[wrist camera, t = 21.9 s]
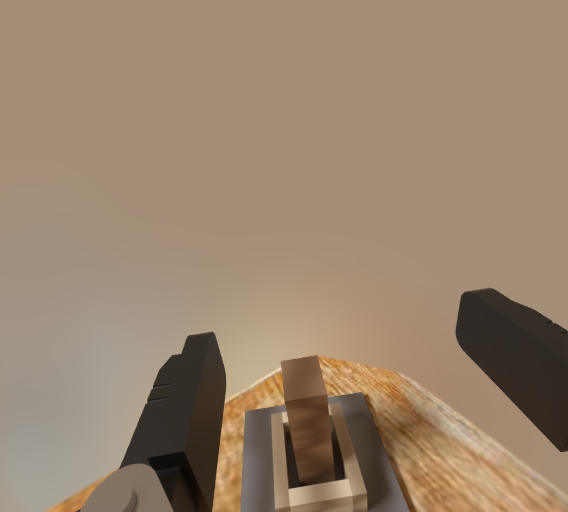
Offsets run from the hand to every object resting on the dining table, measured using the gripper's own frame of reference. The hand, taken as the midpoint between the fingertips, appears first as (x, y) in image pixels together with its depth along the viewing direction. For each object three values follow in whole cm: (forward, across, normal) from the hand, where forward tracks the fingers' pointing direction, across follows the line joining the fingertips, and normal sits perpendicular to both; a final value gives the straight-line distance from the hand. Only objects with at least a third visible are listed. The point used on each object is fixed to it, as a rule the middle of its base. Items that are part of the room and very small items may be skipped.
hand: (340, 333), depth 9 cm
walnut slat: (+14, +1, +32) cm, 34 cm away
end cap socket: (+14, +1, +33) cm, 35 cm away
